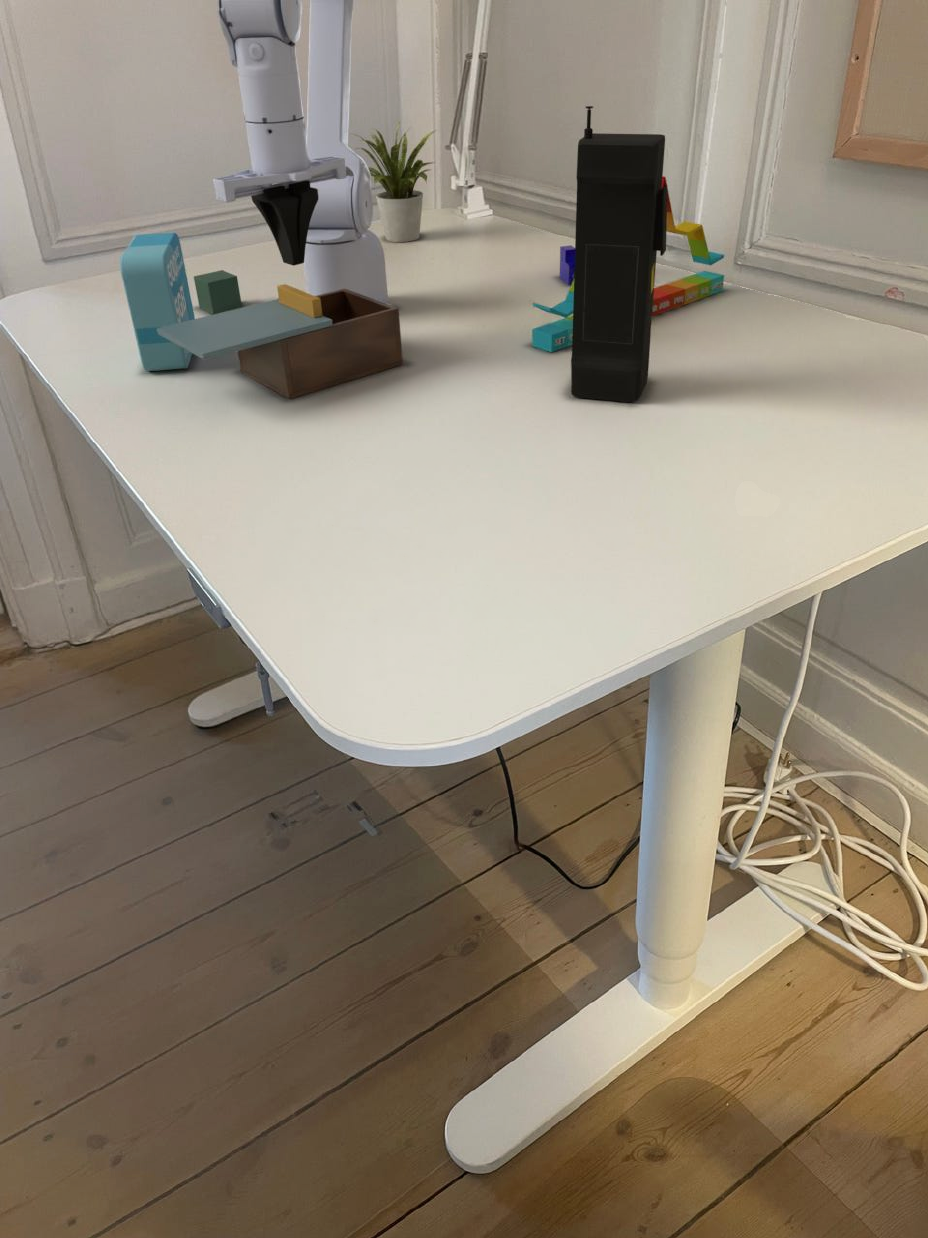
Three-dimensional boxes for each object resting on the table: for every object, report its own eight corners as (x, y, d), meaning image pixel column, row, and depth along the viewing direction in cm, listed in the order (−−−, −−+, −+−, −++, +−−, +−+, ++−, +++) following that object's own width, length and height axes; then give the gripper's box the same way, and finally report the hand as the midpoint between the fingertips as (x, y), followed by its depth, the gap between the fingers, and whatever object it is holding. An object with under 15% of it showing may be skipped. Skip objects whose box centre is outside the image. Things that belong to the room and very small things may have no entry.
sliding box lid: (281, 303, 102) (278, 280, 101) (333, 325, 96) (330, 301, 94) (157, 334, 95) (152, 309, 94) (204, 360, 89) (199, 334, 87)
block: (227, 301, 124) (222, 269, 122) (242, 308, 122) (237, 275, 119) (199, 308, 122) (193, 276, 120) (213, 315, 120) (207, 282, 117)
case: (350, 341, 110) (345, 288, 106) (403, 364, 103) (398, 308, 100) (240, 372, 103) (231, 316, 99) (289, 399, 96) (280, 340, 93)
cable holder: (568, 284, 125) (569, 252, 123) (559, 277, 128) (560, 246, 125) (626, 278, 126) (628, 246, 124) (616, 271, 129) (617, 240, 127)
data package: (187, 372, 103) (163, 257, 96) (144, 375, 103) (117, 259, 96) (198, 336, 113) (177, 229, 106) (159, 339, 113) (136, 231, 106)
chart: (552, 352, 104) (555, 205, 96) (532, 345, 106) (532, 200, 98) (724, 291, 120) (739, 160, 112) (703, 286, 122) (716, 157, 114)
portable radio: (658, 382, 96) (682, 100, 82) (647, 404, 92) (670, 110, 78) (581, 375, 99) (591, 100, 84) (567, 397, 94) (575, 109, 80)
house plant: (337, 250, 144) (324, 128, 134) (360, 227, 155) (349, 113, 146) (430, 250, 142) (424, 127, 132) (447, 227, 153) (442, 112, 143)
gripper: (232, 133, 87) (256, 285, 95) (358, 112, 95) (371, 254, 103) (192, 126, 92) (218, 272, 100) (316, 106, 100) (332, 243, 107)
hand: (293, 262), depth 102 cm, fingers closed
